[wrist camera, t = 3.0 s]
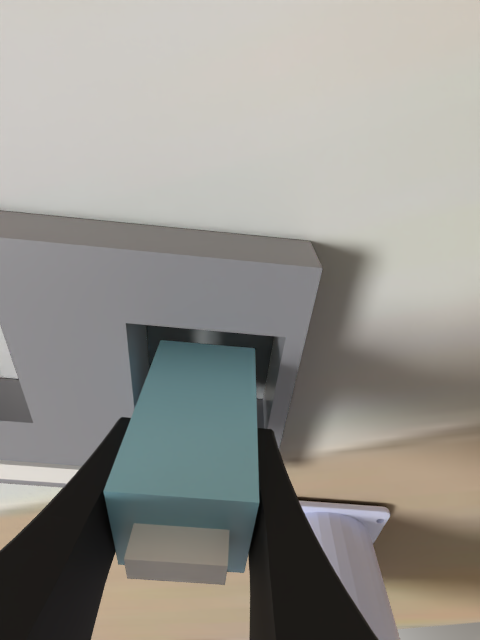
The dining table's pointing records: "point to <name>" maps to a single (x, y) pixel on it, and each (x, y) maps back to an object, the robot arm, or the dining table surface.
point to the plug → (188, 467)
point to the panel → (129, 324)
